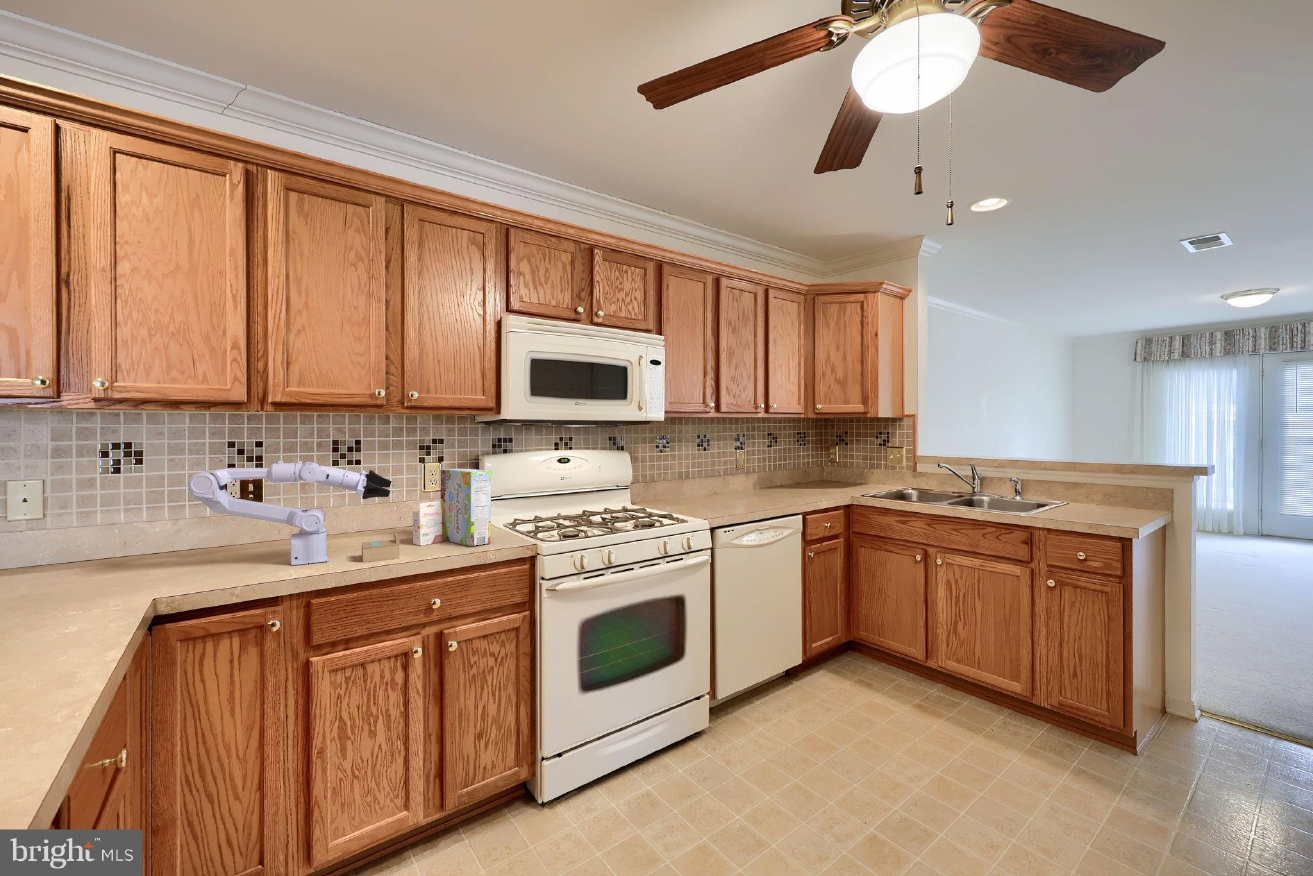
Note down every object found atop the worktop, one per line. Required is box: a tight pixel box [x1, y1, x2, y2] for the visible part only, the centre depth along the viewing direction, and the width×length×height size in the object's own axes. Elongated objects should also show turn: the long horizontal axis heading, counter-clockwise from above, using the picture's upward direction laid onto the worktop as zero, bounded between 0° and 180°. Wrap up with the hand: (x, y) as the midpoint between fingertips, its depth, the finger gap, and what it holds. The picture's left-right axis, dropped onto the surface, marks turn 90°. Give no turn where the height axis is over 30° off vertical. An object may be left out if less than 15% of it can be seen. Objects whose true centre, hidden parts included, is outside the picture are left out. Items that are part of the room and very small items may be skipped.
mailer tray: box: [361, 545, 401, 563], centre depth 174 cm, size 10×8×4 cm
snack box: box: [439, 468, 492, 547], centre depth 199 cm, size 22×9×26 cm, turn 49°
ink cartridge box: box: [412, 500, 443, 546], centre depth 196 cm, size 9×5×15 cm, turn 143°
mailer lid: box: [361, 532, 400, 549], centre depth 174 cm, size 10×8×3 cm
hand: (390, 489), depth 180 cm, fingers open, 7 cm apart
